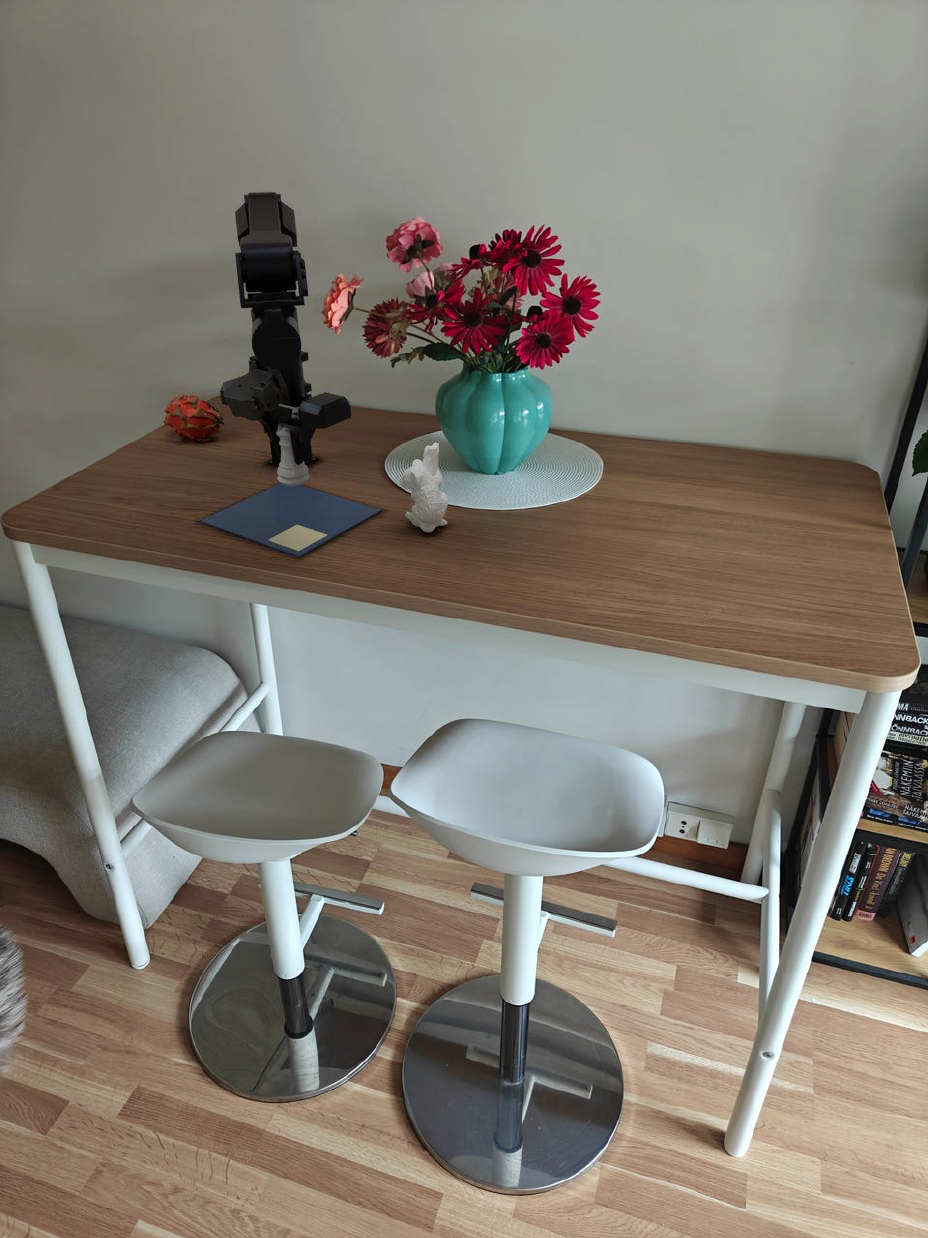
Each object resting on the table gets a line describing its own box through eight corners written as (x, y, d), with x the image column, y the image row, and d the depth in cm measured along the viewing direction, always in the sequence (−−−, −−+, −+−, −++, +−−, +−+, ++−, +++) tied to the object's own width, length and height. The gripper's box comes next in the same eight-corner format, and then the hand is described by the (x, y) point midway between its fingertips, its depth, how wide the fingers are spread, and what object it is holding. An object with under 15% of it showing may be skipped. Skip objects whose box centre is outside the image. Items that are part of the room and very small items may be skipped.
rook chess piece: (312, 484, 121) (306, 428, 117) (279, 488, 120) (272, 432, 116) (307, 472, 125) (301, 417, 121) (275, 476, 124) (268, 421, 120)
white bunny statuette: (422, 510, 135) (420, 435, 129) (461, 519, 132) (461, 443, 126) (394, 533, 129) (390, 455, 122) (434, 542, 126) (433, 463, 120)
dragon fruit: (171, 438, 166) (225, 456, 163) (145, 425, 157) (201, 444, 154) (186, 396, 166) (240, 413, 163) (160, 380, 157) (217, 398, 154)
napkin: (285, 482, 144) (285, 480, 144) (381, 511, 135) (380, 509, 135) (201, 522, 132) (200, 520, 132) (299, 557, 122) (299, 555, 122)
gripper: (179, 350, 112) (199, 465, 120) (287, 374, 103) (300, 497, 111) (244, 331, 120) (258, 441, 128) (349, 352, 111) (357, 468, 119)
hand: (291, 461), depth 121 cm, fingers closed on rook chess piece, 3 cm apart
